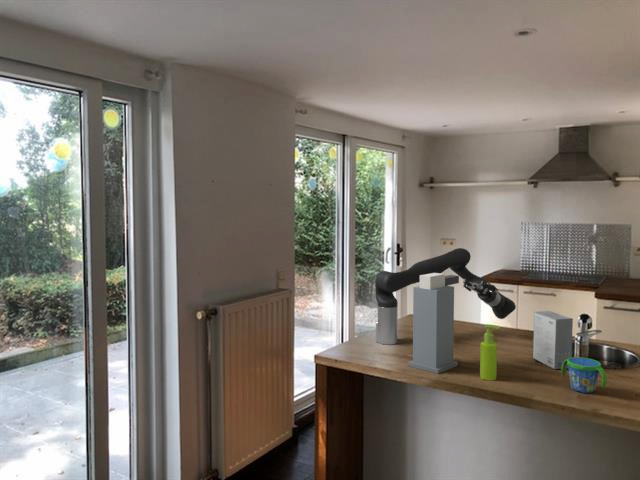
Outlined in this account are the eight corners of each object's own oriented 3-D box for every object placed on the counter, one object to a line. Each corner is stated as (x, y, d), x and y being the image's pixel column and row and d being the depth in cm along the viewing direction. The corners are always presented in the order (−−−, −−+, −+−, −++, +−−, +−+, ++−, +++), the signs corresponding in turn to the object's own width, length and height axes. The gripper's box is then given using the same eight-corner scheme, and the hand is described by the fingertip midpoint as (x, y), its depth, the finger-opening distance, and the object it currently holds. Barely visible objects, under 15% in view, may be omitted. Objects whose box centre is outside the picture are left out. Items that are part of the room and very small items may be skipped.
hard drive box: (572, 368, 205) (573, 318, 203) (554, 370, 203) (555, 319, 202) (548, 356, 220) (550, 310, 218) (532, 358, 219) (533, 311, 217)
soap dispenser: (497, 381, 191) (498, 328, 189) (478, 378, 195) (478, 325, 193) (500, 377, 196) (501, 324, 194) (482, 373, 200) (483, 322, 198)
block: (430, 289, 201) (430, 276, 201) (419, 288, 205) (419, 275, 205) (459, 283, 216) (460, 271, 215) (449, 281, 219) (449, 270, 219)
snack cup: (613, 395, 177) (614, 365, 177) (592, 400, 173) (593, 370, 172) (574, 380, 192) (575, 353, 191) (553, 385, 187) (554, 357, 186)
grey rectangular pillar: (437, 373, 200) (438, 291, 197) (408, 365, 210) (408, 287, 208) (457, 365, 210) (458, 286, 207) (428, 358, 220) (429, 282, 217)
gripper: (477, 286, 244) (461, 272, 234) (506, 289, 234) (490, 275, 223) (472, 300, 242) (456, 287, 232) (501, 305, 232) (485, 291, 221)
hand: (473, 281), depth 228 cm, fingers open, 8 cm apart
